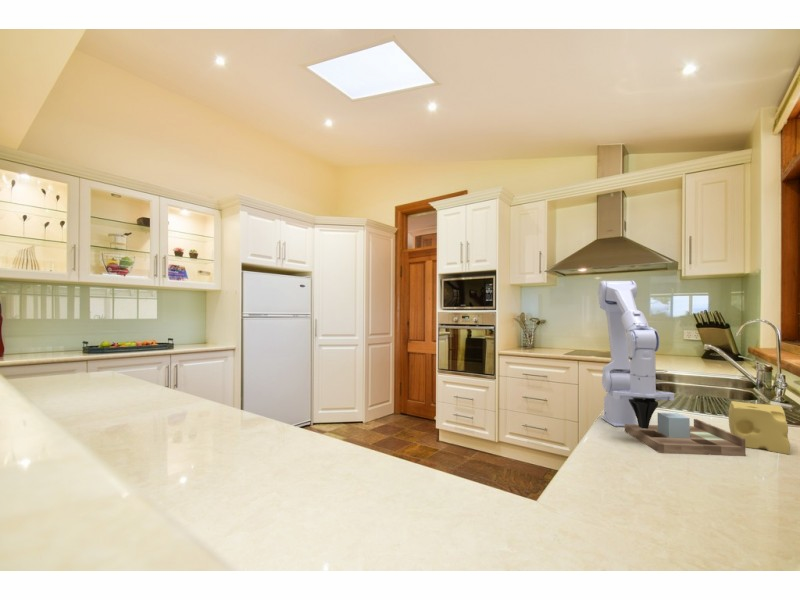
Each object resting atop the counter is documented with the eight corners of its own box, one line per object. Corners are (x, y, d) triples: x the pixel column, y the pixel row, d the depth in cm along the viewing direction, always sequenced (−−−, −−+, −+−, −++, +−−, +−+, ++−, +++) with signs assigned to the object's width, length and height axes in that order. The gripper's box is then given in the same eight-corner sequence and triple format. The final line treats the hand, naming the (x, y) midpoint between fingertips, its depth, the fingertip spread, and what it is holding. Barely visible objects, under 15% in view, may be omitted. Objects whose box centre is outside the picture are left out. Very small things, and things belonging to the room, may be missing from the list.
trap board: (624, 431, 111) (624, 417, 111) (696, 433, 110) (696, 419, 110) (659, 452, 94) (659, 436, 94) (745, 455, 93) (745, 438, 93)
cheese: (790, 455, 93) (789, 413, 94) (731, 445, 100) (730, 406, 100) (782, 443, 102) (781, 405, 102) (728, 435, 108) (728, 399, 108)
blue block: (657, 431, 104) (657, 412, 105) (677, 432, 104) (677, 413, 104) (669, 437, 99) (668, 417, 100) (689, 438, 99) (689, 418, 99)
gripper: (621, 377, 99) (621, 431, 99) (681, 378, 98) (682, 432, 98) (608, 372, 106) (609, 423, 106) (664, 374, 105) (665, 424, 105)
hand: (643, 427), depth 102 cm, fingers closed
